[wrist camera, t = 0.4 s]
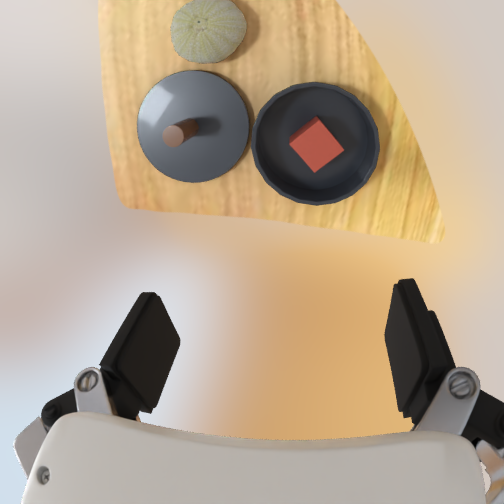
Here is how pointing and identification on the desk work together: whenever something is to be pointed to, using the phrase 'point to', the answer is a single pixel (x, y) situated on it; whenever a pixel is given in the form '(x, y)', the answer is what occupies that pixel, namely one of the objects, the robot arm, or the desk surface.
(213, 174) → the pot lid
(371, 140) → the pot
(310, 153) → the block
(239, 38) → the sea urchin shell
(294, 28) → the desk surface
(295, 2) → the desk surface
